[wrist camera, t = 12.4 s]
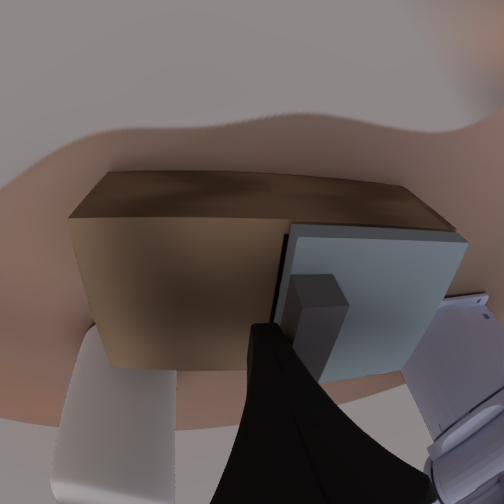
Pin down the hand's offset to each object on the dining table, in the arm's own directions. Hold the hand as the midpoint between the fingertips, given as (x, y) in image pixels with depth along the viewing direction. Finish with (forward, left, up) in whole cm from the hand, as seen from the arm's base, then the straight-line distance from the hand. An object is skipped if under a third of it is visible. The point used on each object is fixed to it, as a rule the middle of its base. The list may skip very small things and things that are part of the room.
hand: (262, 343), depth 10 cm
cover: (-4, 0, -1) cm, 4 cm away
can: (+7, +8, -6) cm, 13 cm away
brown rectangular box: (-1, 0, -6) cm, 6 cm away
